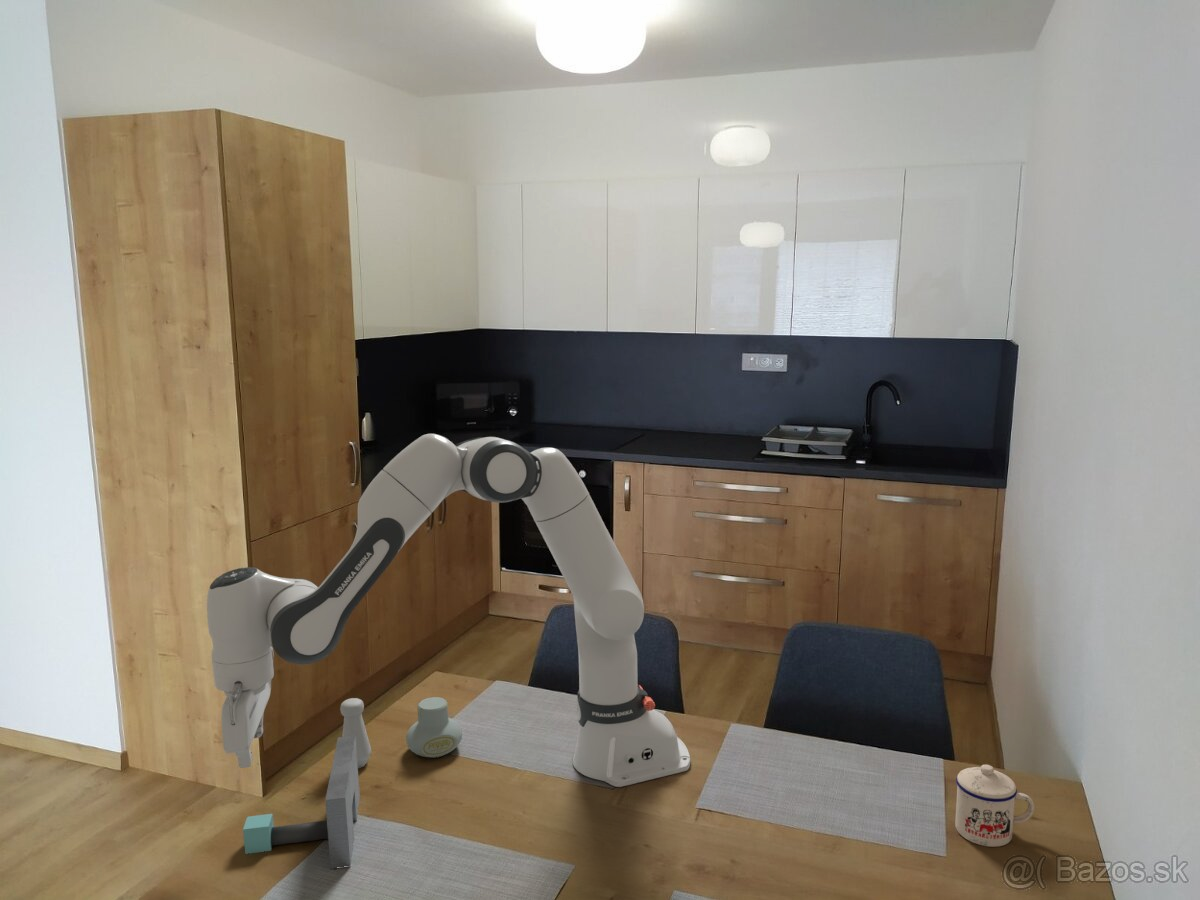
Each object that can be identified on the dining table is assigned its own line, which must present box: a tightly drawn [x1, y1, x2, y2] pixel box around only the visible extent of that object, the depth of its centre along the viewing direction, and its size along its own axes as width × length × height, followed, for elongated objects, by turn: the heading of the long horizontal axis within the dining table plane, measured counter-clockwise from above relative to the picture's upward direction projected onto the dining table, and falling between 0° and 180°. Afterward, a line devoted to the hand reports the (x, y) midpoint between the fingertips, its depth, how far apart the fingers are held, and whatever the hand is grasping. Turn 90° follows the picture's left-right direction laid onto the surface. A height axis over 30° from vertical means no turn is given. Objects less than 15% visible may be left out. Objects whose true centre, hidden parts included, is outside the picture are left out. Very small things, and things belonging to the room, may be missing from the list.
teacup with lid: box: [954, 764, 1035, 848], centre depth 143 cm, size 12×9×12 cm
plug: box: [242, 813, 328, 855], centre depth 145 cm, size 13×4×4 cm, turn 101°
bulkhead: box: [324, 736, 361, 869], centre depth 147 cm, size 3×20×12 cm, turn 11°
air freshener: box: [405, 696, 463, 759], centre depth 173 cm, size 11×8×10 cm
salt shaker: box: [339, 697, 372, 769], centre depth 168 cm, size 6×6×13 cm
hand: (251, 750), depth 142 cm, fingers open, 8 cm apart
